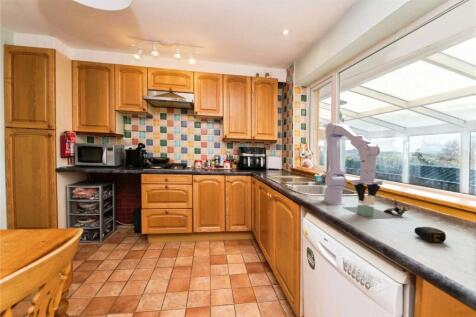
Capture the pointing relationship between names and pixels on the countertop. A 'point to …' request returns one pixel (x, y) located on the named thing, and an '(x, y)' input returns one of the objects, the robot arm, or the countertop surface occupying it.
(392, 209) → the eagle figurine
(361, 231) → the countertop surface
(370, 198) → the cream brick
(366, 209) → the teal brick
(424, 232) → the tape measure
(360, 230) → the countertop surface
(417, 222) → the countertop surface
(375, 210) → the build mat
